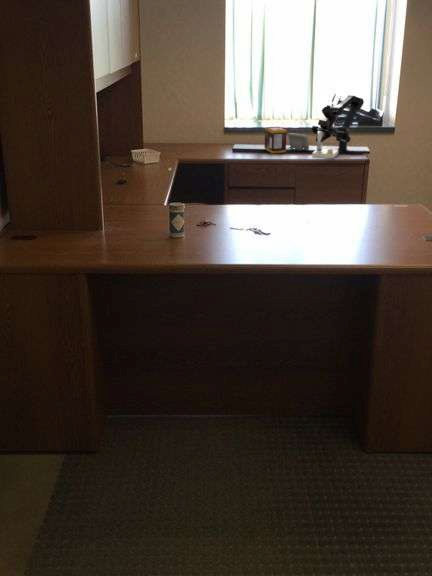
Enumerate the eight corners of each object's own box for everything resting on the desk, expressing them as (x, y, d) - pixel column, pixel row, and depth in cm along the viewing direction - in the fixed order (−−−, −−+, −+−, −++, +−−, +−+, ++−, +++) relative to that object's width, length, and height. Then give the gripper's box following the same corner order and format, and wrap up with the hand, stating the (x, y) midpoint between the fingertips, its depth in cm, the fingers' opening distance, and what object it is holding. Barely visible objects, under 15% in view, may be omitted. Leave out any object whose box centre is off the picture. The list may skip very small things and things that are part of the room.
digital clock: (310, 149, 449) (311, 134, 444) (301, 151, 444) (302, 136, 439) (294, 146, 460) (295, 131, 456) (285, 147, 455) (286, 132, 451)
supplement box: (277, 148, 454) (278, 126, 447) (286, 152, 440) (287, 129, 434) (264, 149, 451) (264, 127, 444) (272, 153, 437) (273, 130, 431)
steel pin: (316, 150, 430) (317, 131, 425) (321, 150, 430) (323, 131, 424) (316, 151, 427) (317, 131, 422) (321, 151, 426) (323, 132, 421)
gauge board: (317, 152, 441) (318, 144, 439) (338, 153, 436) (338, 146, 434) (312, 156, 428) (312, 149, 426) (333, 158, 423) (333, 150, 421)
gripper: (313, 113, 427) (302, 132, 425) (336, 116, 415) (325, 135, 413) (320, 124, 436) (309, 142, 433) (342, 127, 423) (331, 146, 421)
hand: (318, 141), depth 425 cm, fingers closed on steel pin, 4 cm apart
